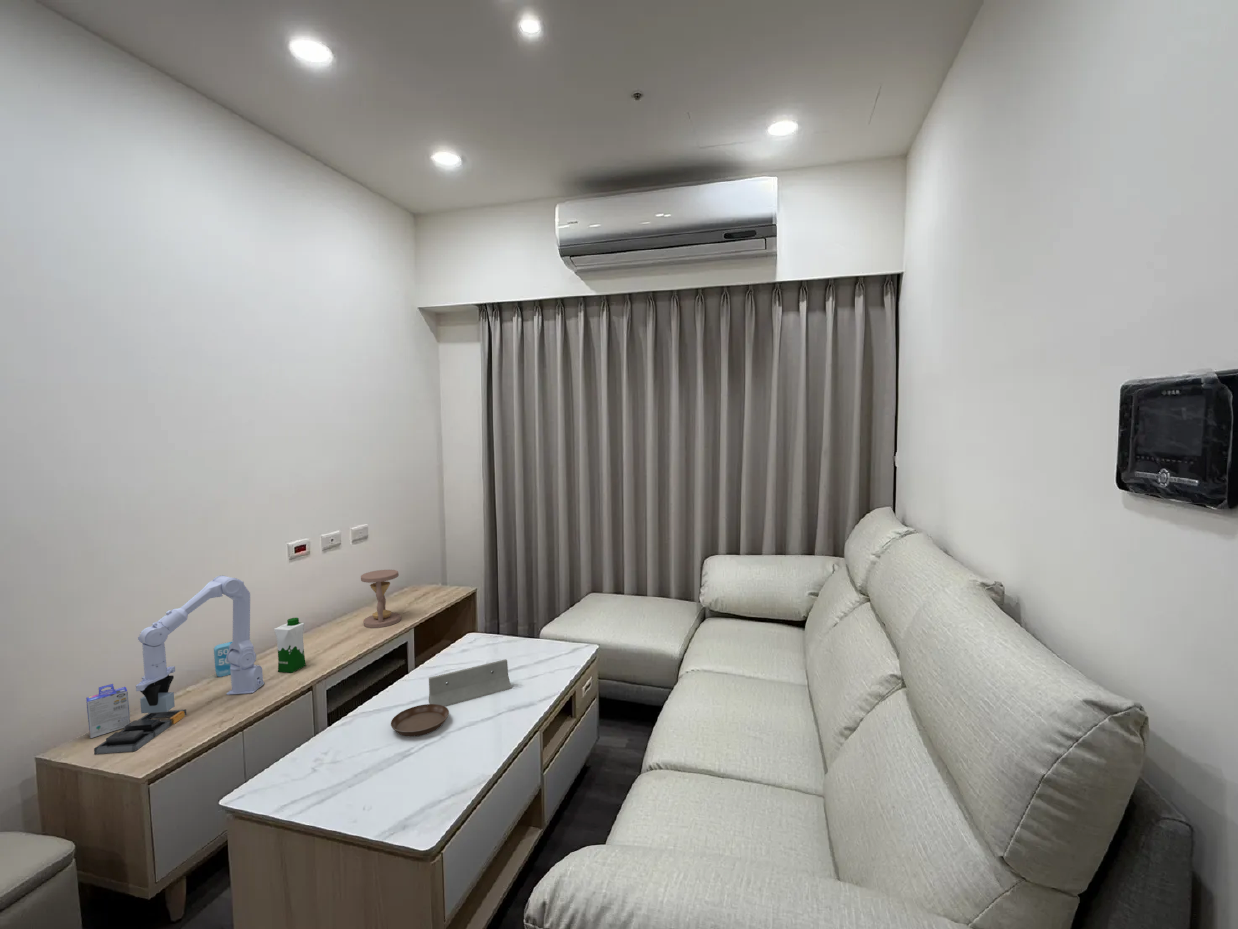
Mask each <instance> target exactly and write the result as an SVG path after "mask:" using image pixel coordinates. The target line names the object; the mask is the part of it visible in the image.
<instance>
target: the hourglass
mask: <svg viewBox="0 0 1238 929" xmlns="http://www.w3.org/2000/svg"><path fill="white" fill-rule="evenodd" d="M398 577H399V571H398V570H397V569H379V570H373V571H368V572H366V573H363V574H361V575H360V581H361V582H362V583H369V584H370V585H369V586H370V588H371V589H372V590H373V592H374V593H375V597H376V600H377V605H376V611H375V612H373V613H372V614H371V615H370V616H367V617H365V618H364V619H363V620H362V621H363V626H364V627H365V628H369V629H379V628H386V627H390V626H393V625H395V624H397V623H399V622H400V621H401V620H402V616H401V614H400V613H399V612H394V611H393V612H392V611H391V610H388V609H386V603H387V600H386V597H385V593H386V592H387V590H388V589H389V587H390V585H391V582H390V581H391V580H395V579H396V578H398Z"/></svg>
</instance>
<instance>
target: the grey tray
mask: <svg viewBox="0 0 1238 929" xmlns="http://www.w3.org/2000/svg"><path fill="white" fill-rule="evenodd" d="M186 715H187V709H170V710H169V711H167V712H155V713H145V714H144V715H142V717H140V718H138V719H137V720H132V721H130V723H129V724H128V725H126V726H125V728H122V729H121V730H120V731H115V732H114V733H112V734H111V735H110V736H108V737H106V738H105V741H104V742H102V743H101V744H99V745H97V746H96V747H94V748H93V752H94V755H102V754H103V755H104V754H115V753H129V752H130V753H131V752H136V751H138V750H139V749H141V748H142V747H143V746H145V745H146V744H147V743H149V742H150V741H152V740H154V738H156V737H158V736H159V735H160V734H161V733H163V732H164V731H166V730H167V729H168V728H170V727H171V726H172V725H175V724H176V723H178V722H179V721H180V720H182V719H183V718H185V716H186ZM160 718H169V719H164V720H163V719H162V720H161V719H160Z"/></svg>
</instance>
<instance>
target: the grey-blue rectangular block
mask: <svg viewBox="0 0 1238 929" xmlns="http://www.w3.org/2000/svg"><path fill="white" fill-rule="evenodd" d="M139 700H140V701H139V702H140V712H141V713H140V714H148V713H155V712H167V711H169V710H173V708H174V707H175V706H176V704H175V693H174V691H171V692H170V691H168V692H167V693H158V704H157V705H156V706H149V704H148V701H147V699H146V698H145V696H144V695H143V696H142V697H141V698H139Z"/></svg>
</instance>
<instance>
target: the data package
mask: <svg viewBox="0 0 1238 929" xmlns="http://www.w3.org/2000/svg"><path fill="white" fill-rule="evenodd" d="M232 642H233V640H231V641H229V642H225V643H219V644H216V645H215V646H214V648H213V654H214V655H213V656H214V659H213V660H214V668H215V669H214V670H215V674H216V676H217V677H219V678H220V677H225V676H231V671H230V667H231V664H230V663H228V661H227V659H226V656H227V653H228V651H229V646H230V644H231V643H232Z"/></svg>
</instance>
